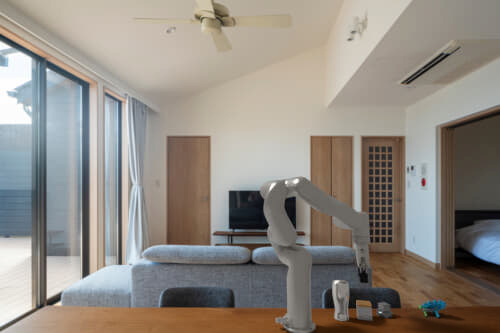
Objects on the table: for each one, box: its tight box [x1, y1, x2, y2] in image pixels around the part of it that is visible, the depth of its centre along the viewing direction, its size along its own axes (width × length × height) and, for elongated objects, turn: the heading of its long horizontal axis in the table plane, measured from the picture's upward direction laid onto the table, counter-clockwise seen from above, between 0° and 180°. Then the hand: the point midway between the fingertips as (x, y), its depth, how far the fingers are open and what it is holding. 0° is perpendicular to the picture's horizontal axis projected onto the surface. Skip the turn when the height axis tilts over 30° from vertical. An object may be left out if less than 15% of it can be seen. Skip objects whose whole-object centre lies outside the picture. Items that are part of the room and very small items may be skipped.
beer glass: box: [331, 279, 350, 322], centre depth 124 cm, size 7×7×15 cm
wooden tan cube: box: [355, 299, 373, 322], centre depth 124 cm, size 6×6×6 cm
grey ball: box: [376, 301, 394, 319], centre depth 126 cm, size 6×6×5 cm
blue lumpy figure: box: [418, 299, 447, 318], centre depth 125 cm, size 11×6×10 cm
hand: (363, 279), depth 126 cm, fingers open, 9 cm apart
